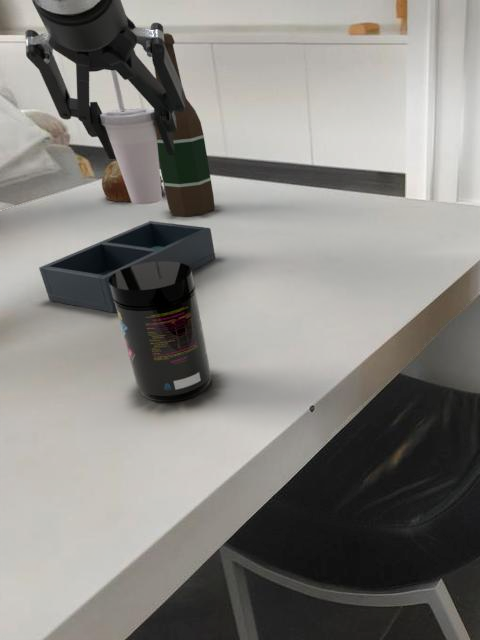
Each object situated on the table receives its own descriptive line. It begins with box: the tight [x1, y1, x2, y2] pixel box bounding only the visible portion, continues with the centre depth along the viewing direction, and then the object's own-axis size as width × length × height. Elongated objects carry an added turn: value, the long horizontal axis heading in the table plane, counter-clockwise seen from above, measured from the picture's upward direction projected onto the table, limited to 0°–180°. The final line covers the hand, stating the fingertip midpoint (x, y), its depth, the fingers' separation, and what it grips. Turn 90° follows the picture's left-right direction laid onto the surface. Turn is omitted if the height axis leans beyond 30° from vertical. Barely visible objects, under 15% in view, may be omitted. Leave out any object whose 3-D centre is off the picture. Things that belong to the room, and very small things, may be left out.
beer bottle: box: [153, 32, 216, 218], centre depth 104 cm, size 8×8×24 cm
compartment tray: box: [38, 220, 216, 313], centre depth 85 cm, size 10×19×4 cm, turn 154°
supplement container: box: [109, 261, 212, 403], centre depth 60 cm, size 7×7×10 cm
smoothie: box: [100, 70, 163, 205], centre depth 80 cm, size 6×6×14 cm
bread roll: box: [101, 159, 164, 203], centre depth 119 cm, size 10×10×8 cm
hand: (141, 146), depth 84 cm, fingers closed on smoothie, 6 cm apart
